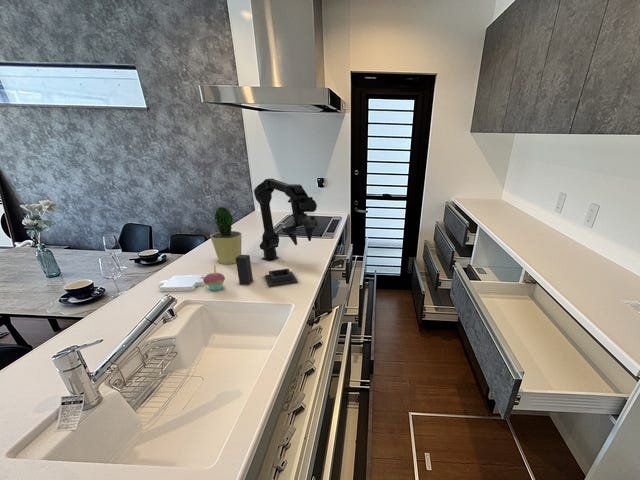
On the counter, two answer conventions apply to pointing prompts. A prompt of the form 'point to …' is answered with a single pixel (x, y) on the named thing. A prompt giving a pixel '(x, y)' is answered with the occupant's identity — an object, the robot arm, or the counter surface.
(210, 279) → the cupcake
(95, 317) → the counter surface
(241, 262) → the post
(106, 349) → the counter surface
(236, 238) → the potted cactus
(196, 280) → the mounting plate
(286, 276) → the socket pad
